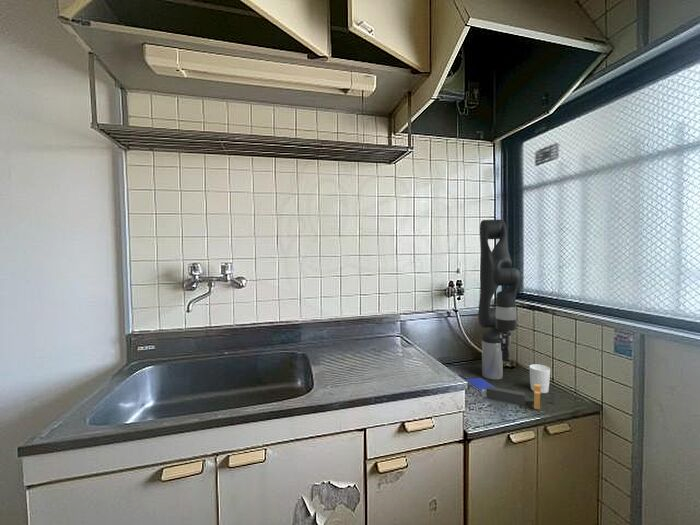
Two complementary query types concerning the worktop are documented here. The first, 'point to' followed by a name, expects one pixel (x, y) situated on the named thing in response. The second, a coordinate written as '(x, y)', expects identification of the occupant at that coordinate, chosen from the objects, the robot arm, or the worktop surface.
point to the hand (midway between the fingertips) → (505, 358)
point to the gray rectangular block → (504, 395)
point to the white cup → (540, 377)
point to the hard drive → (479, 383)
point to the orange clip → (537, 396)
